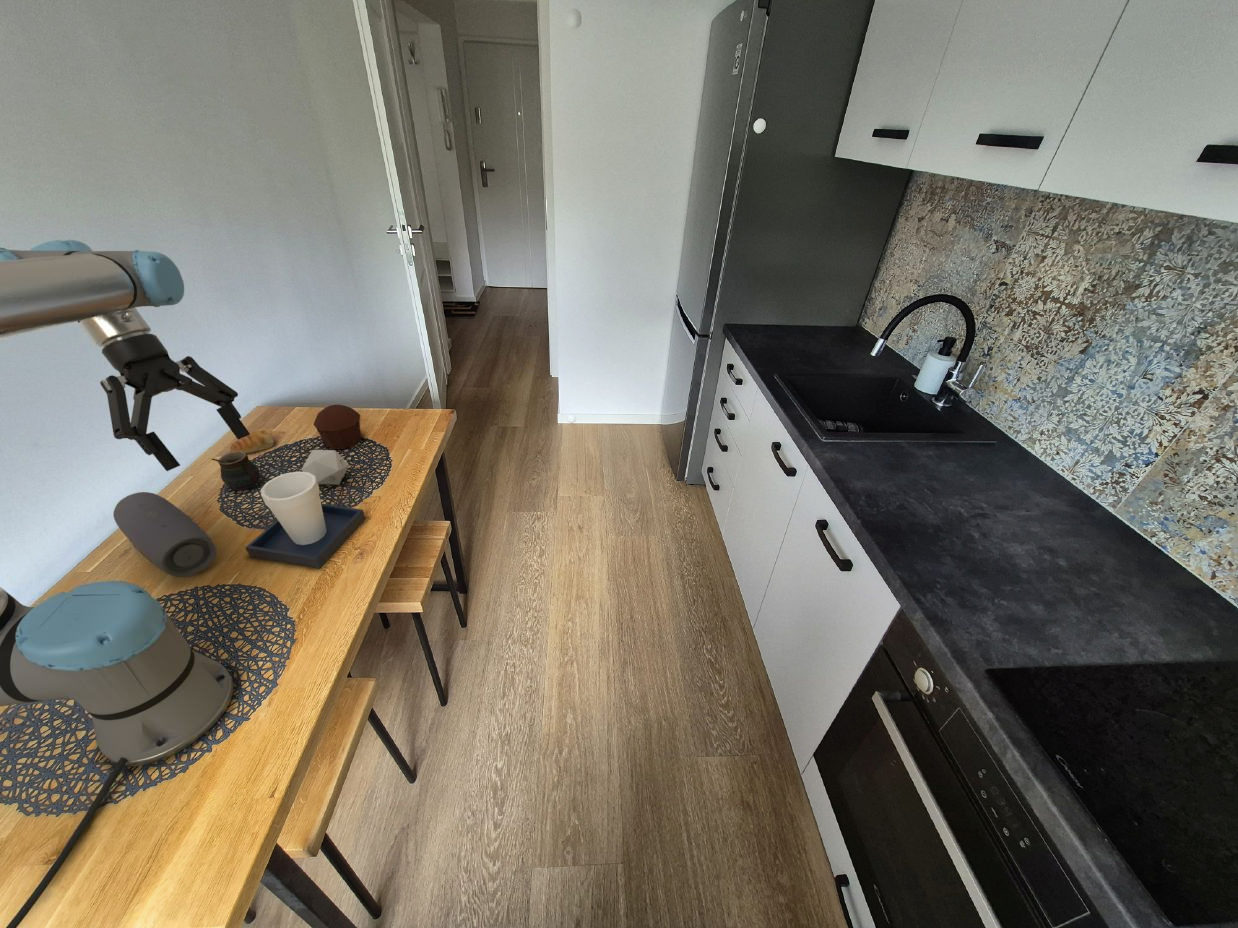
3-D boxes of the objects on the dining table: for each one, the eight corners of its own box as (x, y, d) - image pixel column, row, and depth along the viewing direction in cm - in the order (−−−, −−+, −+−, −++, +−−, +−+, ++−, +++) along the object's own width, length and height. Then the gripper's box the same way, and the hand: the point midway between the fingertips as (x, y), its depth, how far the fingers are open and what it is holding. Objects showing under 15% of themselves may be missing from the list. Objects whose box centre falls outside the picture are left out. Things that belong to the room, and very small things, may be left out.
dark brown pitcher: (271, 478, 120) (255, 443, 115) (246, 496, 114) (228, 461, 108) (244, 474, 121) (228, 439, 116) (219, 492, 115) (200, 457, 109)
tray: (319, 568, 97) (315, 559, 96) (250, 556, 99) (244, 547, 98) (365, 518, 110) (362, 509, 108) (303, 508, 112) (299, 499, 110)
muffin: (315, 438, 136) (303, 406, 130) (357, 426, 142) (347, 394, 136) (329, 457, 129) (318, 424, 123) (373, 443, 135) (363, 410, 129)
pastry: (237, 459, 126) (231, 447, 124) (228, 450, 130) (222, 437, 127) (277, 445, 132) (272, 433, 130) (267, 436, 136) (262, 424, 133)
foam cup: (343, 531, 105) (325, 482, 98) (300, 556, 99) (277, 506, 91) (317, 514, 109) (298, 466, 102) (275, 538, 103) (251, 488, 95)
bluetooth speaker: (230, 562, 98) (208, 524, 92) (174, 592, 91) (147, 553, 85) (179, 517, 107) (156, 481, 102) (126, 542, 101) (98, 504, 95)
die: (324, 499, 116) (343, 464, 114) (288, 479, 114) (307, 443, 112) (342, 488, 124) (360, 456, 122) (309, 470, 123) (327, 436, 121)
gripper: (46, 350, 70) (151, 478, 77) (211, 319, 91) (281, 420, 99) (20, 368, 72) (124, 490, 79) (186, 333, 94) (256, 431, 101)
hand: (211, 451), depth 89 cm, fingers open, 13 cm apart
